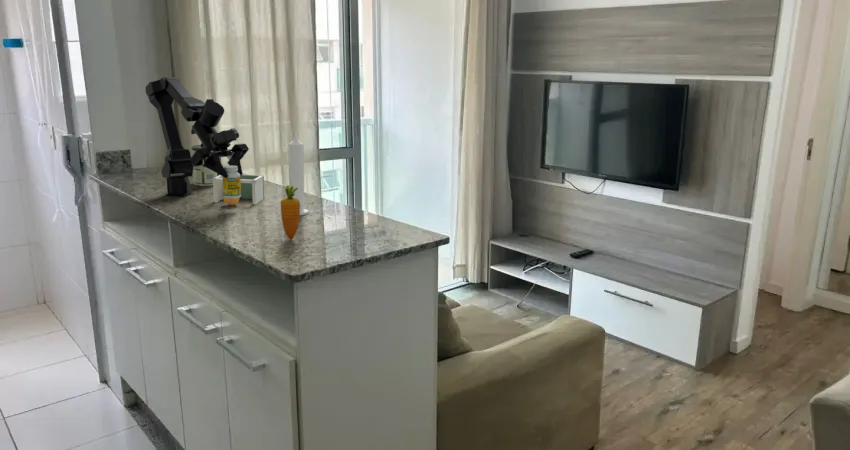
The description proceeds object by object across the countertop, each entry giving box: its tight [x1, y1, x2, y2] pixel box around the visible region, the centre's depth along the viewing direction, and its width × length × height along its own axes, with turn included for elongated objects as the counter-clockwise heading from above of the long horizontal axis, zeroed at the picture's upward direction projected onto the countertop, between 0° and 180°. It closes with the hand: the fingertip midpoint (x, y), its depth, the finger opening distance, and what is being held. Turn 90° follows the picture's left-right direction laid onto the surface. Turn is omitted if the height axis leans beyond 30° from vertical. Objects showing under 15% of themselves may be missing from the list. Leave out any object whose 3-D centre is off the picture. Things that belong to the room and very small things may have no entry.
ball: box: [222, 196, 240, 206], centre depth 202 cm, size 5×5×5 cm
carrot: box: [280, 184, 301, 241], centre depth 164 cm, size 5×5×15 cm
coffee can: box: [191, 144, 222, 187], centre depth 234 cm, size 10×10×14 cm
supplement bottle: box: [222, 164, 241, 199], centre depth 194 cm, size 5×5×10 cm
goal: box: [212, 174, 265, 205], centre depth 209 cm, size 14×9×8 cm, turn 87°
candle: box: [288, 132, 309, 216], centre depth 192 cm, size 7×7×25 cm
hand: (234, 176), depth 192 cm, fingers closed on supplement bottle, 5 cm apart
